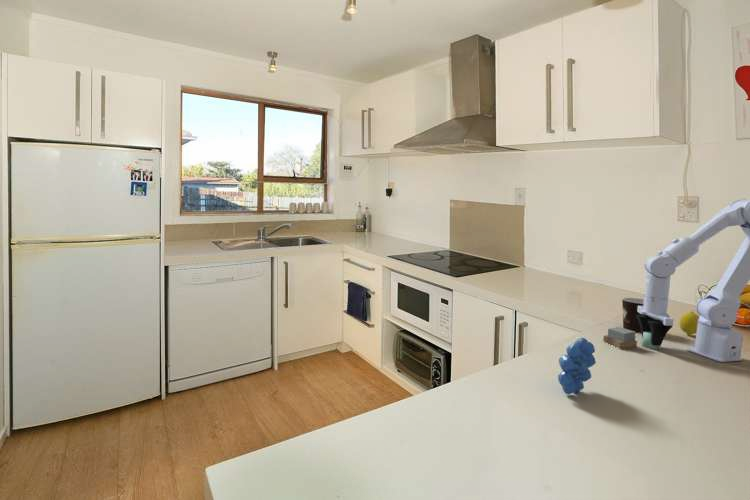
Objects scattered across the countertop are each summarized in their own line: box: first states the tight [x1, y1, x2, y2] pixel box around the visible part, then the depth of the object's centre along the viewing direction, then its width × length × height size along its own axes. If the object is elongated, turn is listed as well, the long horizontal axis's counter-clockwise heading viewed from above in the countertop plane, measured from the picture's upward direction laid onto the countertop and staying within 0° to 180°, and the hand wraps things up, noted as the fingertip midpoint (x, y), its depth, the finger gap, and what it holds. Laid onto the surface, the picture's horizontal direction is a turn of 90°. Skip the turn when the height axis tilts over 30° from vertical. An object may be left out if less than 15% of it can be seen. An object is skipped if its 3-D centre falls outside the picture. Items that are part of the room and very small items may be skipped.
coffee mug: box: [621, 297, 644, 334], centre depth 135 cm, size 12×9×10 cm
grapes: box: [557, 337, 596, 395], centre depth 88 cm, size 12×7×12 cm, turn 123°
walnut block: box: [602, 334, 638, 349], centre depth 119 cm, size 6×6×2 cm
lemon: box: [678, 311, 700, 336], centre depth 130 cm, size 6×6×8 cm
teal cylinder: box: [641, 332, 661, 351], centre depth 118 cm, size 4×4×4 cm
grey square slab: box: [607, 326, 637, 342], centre depth 119 cm, size 5×5×2 cm
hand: (651, 342), depth 118 cm, fingers closed on teal cylinder, 4 cm apart
